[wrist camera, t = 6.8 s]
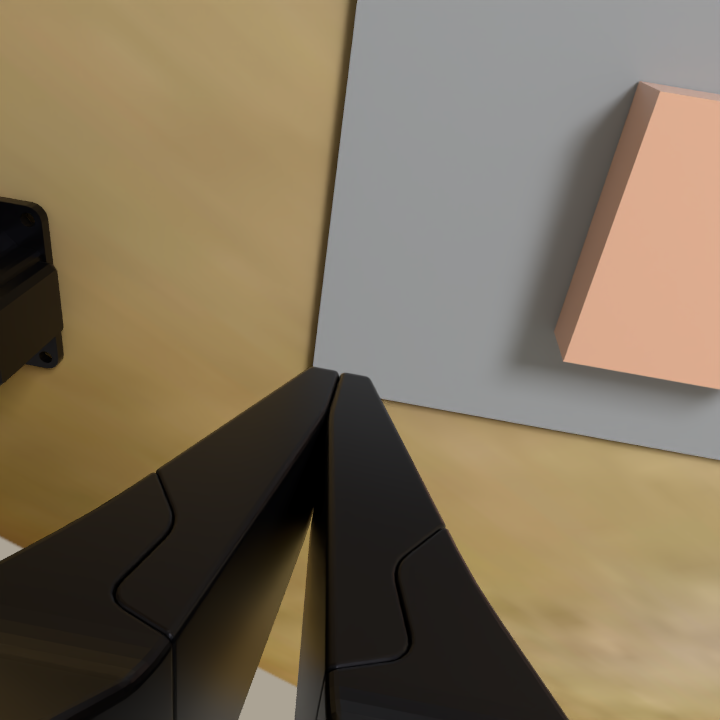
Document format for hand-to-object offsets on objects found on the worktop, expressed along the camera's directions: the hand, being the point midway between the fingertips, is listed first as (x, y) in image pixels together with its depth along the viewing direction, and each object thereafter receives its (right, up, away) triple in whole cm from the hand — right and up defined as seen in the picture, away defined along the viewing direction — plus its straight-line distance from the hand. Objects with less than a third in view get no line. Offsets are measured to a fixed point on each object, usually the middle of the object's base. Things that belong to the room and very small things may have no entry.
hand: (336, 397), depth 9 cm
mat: (+8, +5, +11) cm, 15 cm away
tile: (+7, +4, +10) cm, 13 cm away
